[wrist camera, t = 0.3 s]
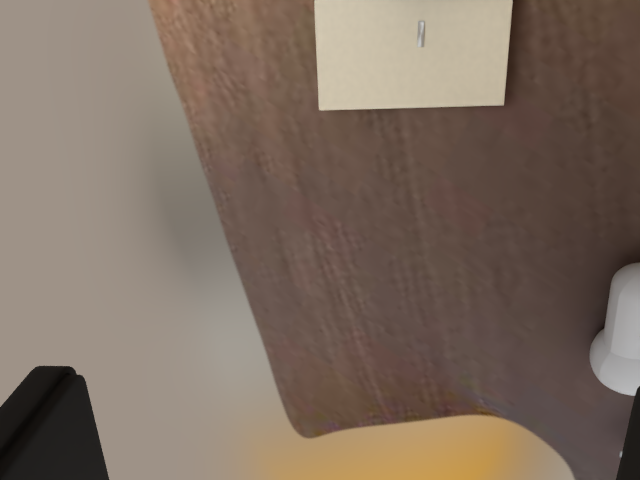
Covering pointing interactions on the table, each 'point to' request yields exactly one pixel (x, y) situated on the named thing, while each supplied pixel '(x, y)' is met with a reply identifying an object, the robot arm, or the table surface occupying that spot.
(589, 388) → the table surface
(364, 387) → the table surface
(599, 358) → the clip-on lamp
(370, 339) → the table surface
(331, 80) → the panel
